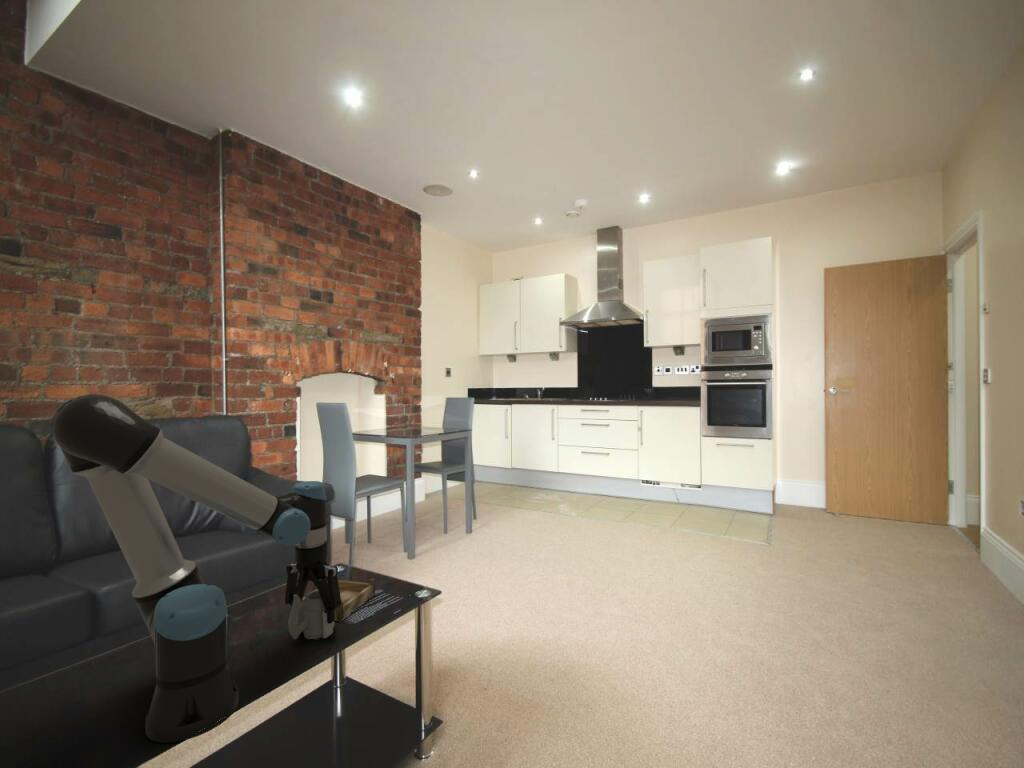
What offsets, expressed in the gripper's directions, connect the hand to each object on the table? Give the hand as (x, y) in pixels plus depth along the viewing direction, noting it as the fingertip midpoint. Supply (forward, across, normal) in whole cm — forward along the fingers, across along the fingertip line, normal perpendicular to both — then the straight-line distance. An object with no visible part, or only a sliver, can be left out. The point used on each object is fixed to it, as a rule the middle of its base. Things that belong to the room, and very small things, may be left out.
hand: (314, 633), depth 125 cm
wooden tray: (+1, +5, -16) cm, 17 cm away
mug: (+1, +1, 0) cm, 1 cm away
